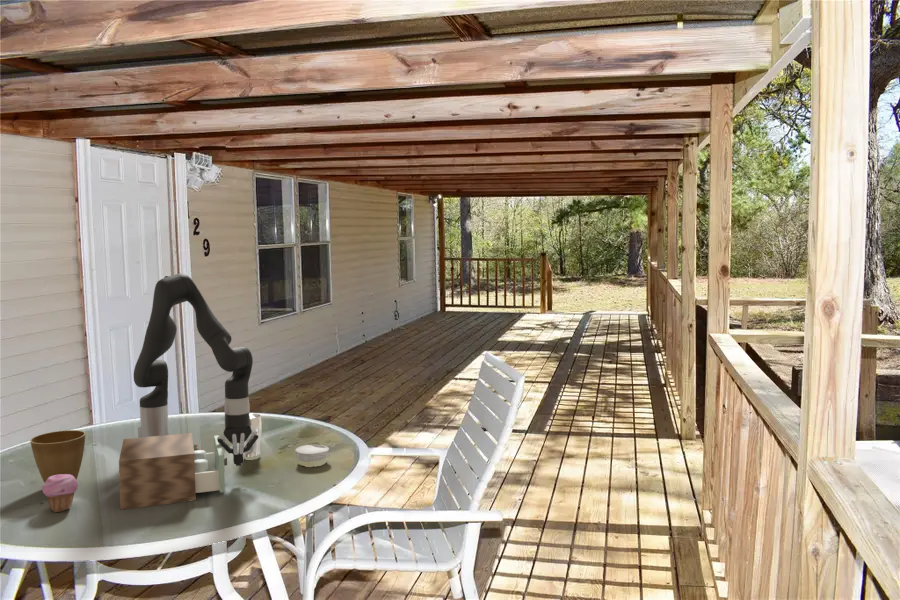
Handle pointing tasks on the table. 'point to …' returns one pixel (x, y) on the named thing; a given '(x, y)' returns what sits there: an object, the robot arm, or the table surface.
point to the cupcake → (60, 491)
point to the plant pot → (58, 452)
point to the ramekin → (311, 452)
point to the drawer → (210, 469)
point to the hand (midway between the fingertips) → (238, 465)
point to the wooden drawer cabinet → (157, 470)
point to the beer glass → (256, 428)
